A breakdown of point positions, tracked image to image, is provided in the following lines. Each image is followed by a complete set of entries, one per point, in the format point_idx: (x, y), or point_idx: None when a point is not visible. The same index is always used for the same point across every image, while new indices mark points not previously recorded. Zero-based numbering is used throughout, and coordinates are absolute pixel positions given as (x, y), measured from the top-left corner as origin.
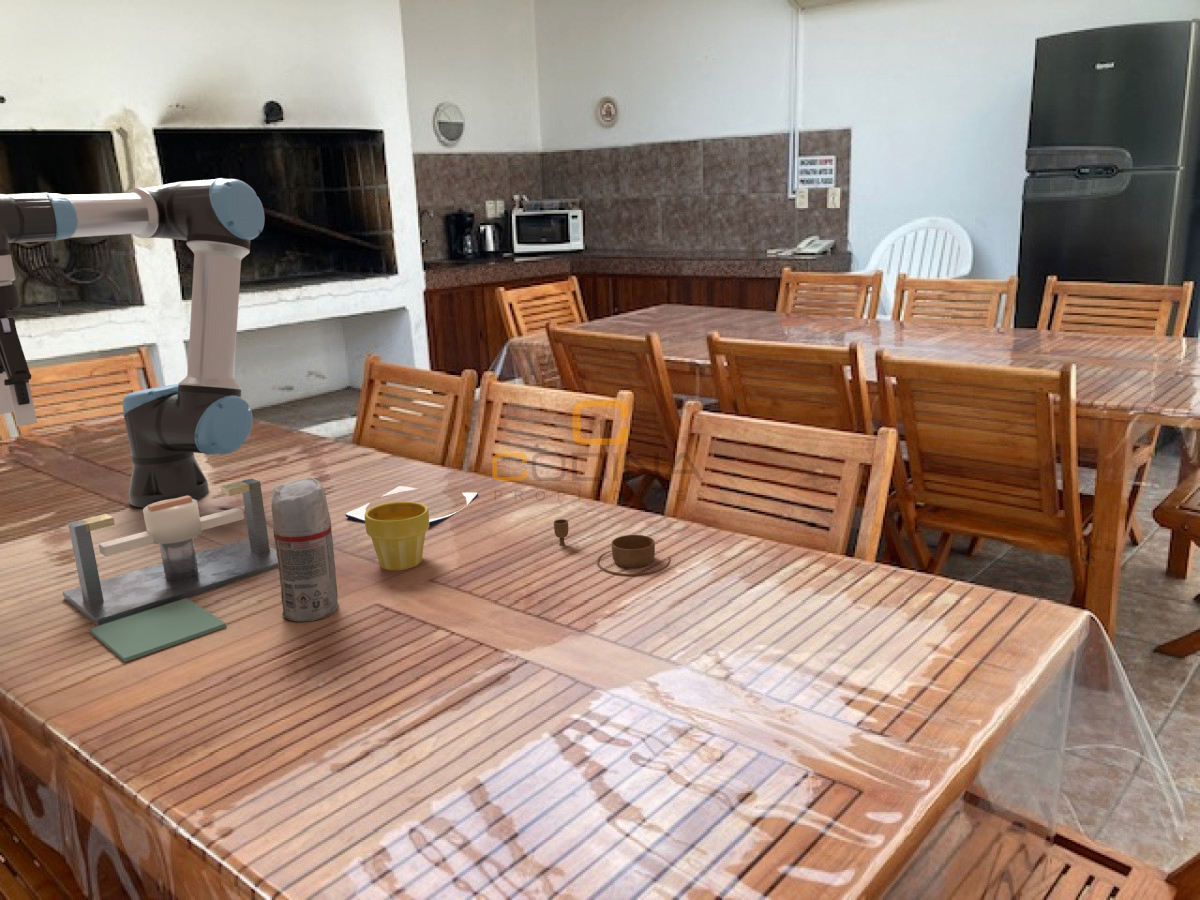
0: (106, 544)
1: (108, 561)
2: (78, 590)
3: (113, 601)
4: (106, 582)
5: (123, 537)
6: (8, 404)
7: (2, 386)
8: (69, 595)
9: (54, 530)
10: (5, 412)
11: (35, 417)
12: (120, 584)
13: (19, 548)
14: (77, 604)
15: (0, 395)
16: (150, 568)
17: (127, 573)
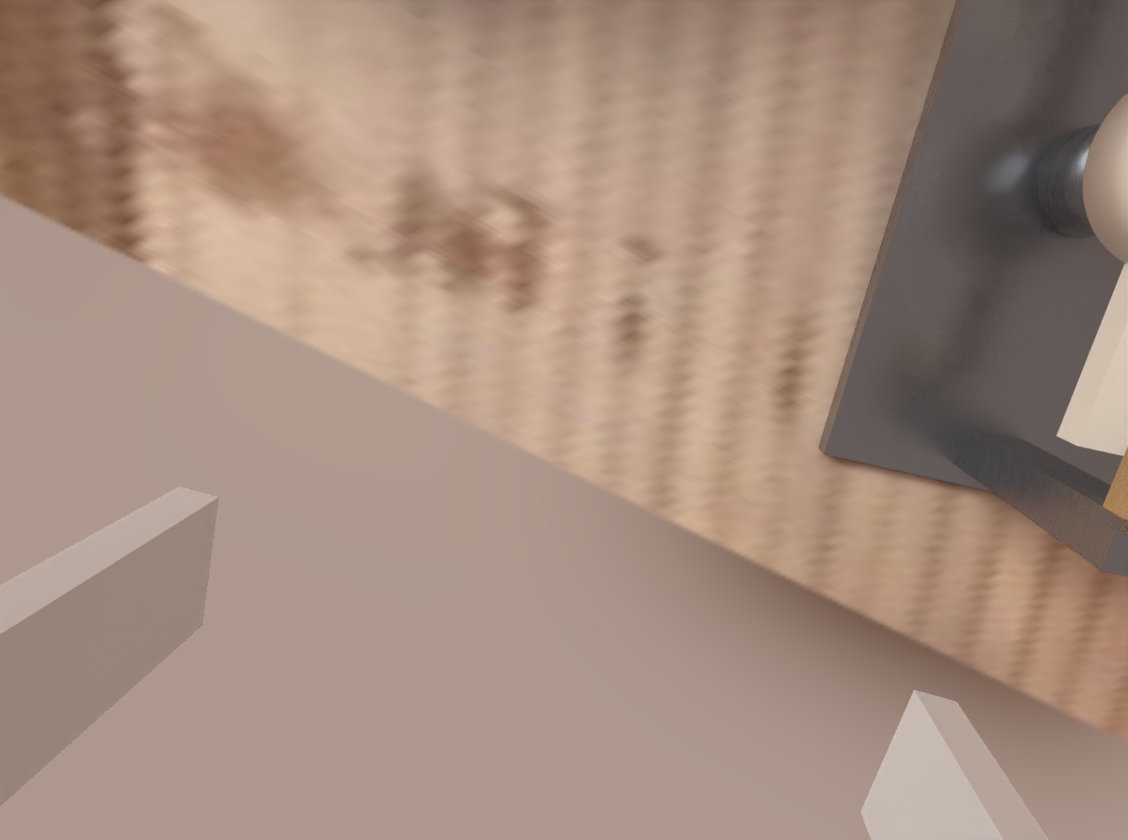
0: (1117, 435)
1: (644, 202)
2: (864, 428)
3: (1057, 427)
4: (890, 350)
5: (1116, 358)
6: (167, 579)
7: (14, 710)
8: (874, 461)
9: (147, 119)
10: (205, 580)
11: (976, 740)
12: (951, 338)
13: (242, 283)
14: (955, 482)
15: (93, 681)
16: (923, 204)
17: (885, 271)
